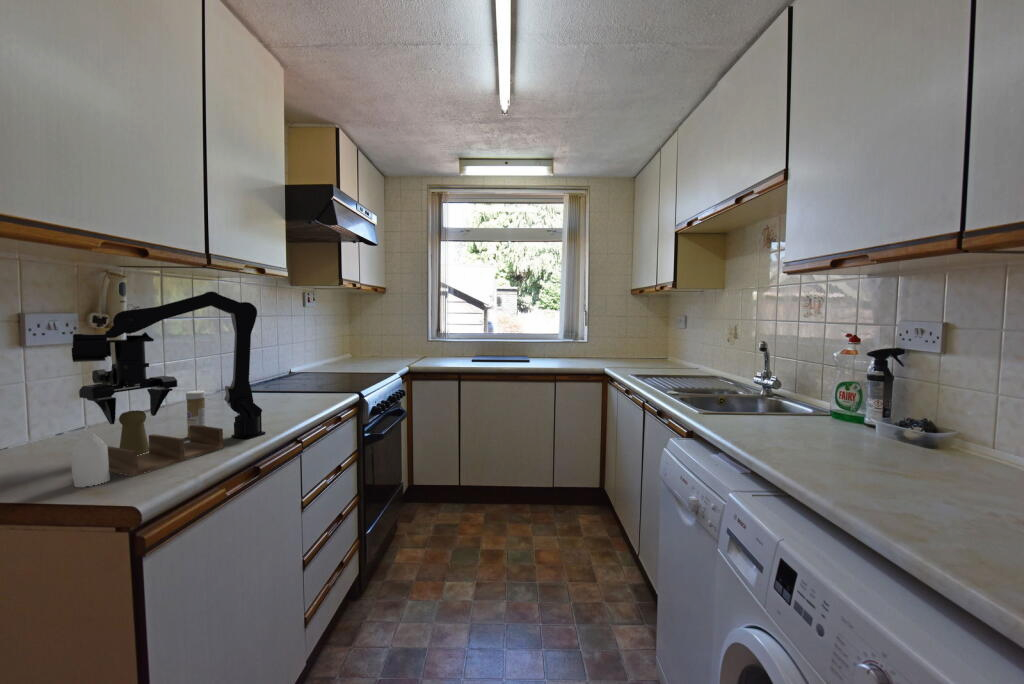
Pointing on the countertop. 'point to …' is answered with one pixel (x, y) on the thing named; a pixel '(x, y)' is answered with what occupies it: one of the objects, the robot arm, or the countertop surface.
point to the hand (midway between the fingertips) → (133, 419)
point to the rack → (165, 451)
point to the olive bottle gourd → (133, 432)
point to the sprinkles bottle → (195, 409)
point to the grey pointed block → (89, 460)
